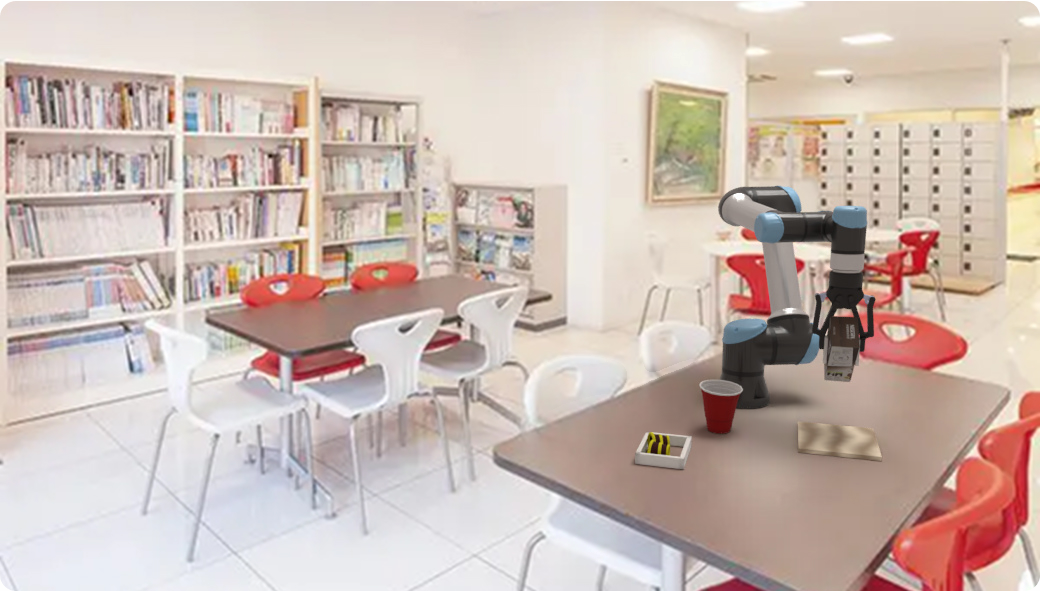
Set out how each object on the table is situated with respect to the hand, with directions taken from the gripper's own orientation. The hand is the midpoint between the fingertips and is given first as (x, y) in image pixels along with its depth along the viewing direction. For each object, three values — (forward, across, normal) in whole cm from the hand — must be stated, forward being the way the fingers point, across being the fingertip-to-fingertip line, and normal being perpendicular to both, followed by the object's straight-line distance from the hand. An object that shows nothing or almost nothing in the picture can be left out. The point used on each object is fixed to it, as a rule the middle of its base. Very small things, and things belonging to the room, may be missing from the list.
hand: (840, 363), depth 189 cm
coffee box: (+3, 0, -7) cm, 7 cm away
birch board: (+19, 0, +4) cm, 19 cm away
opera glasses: (+19, +40, +26) cm, 52 cm away
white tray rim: (+19, +39, +25) cm, 50 cm away
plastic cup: (+19, +28, +4) cm, 34 cm away
